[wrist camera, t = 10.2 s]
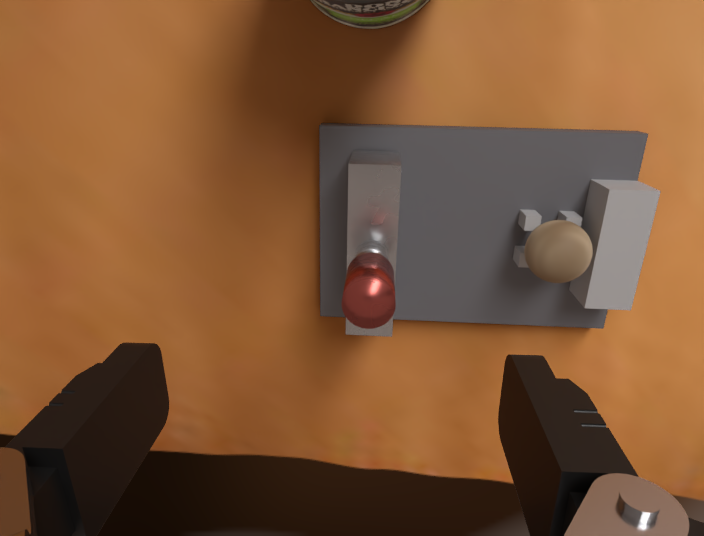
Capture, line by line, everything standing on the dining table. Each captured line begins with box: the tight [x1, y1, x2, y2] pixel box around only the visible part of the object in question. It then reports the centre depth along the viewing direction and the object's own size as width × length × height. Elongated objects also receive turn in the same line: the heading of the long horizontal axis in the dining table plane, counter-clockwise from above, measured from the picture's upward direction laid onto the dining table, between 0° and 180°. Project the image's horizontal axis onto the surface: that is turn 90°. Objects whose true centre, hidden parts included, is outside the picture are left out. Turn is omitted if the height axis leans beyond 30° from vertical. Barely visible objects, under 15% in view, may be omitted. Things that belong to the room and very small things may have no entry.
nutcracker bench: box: [319, 123, 660, 328], centre depth 34 cm, size 21×14×4 cm, turn 89°
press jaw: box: [342, 150, 401, 337], centre depth 30 cm, size 3×11×12 cm, turn 179°
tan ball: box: [524, 220, 593, 283], centre depth 32 cm, size 4×4×4 cm
